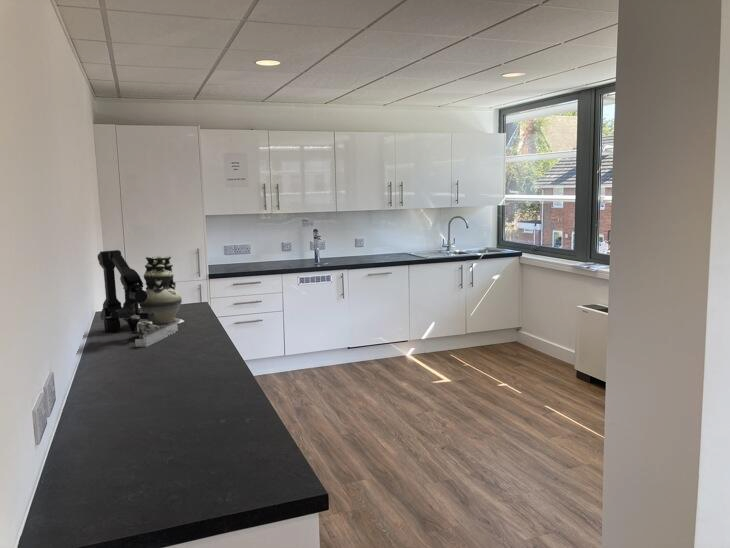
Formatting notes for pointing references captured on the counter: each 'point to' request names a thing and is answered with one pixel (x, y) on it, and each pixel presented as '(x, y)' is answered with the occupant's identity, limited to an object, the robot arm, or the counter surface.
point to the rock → (146, 328)
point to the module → (142, 322)
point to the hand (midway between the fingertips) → (133, 332)
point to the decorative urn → (161, 292)
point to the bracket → (157, 334)
